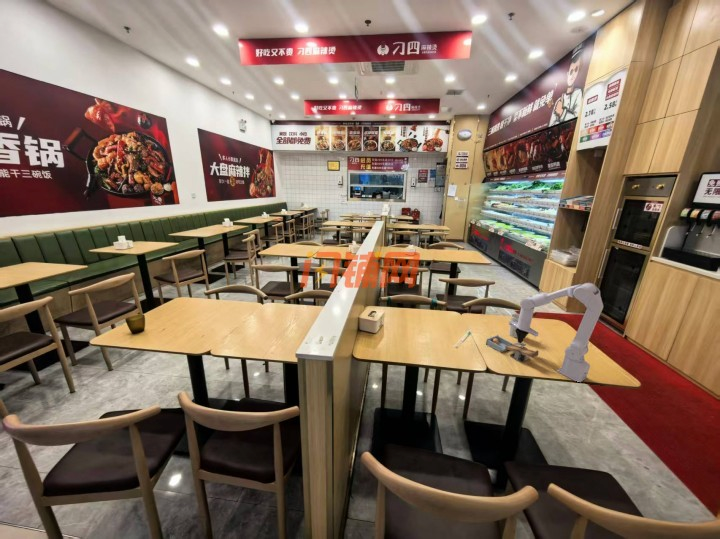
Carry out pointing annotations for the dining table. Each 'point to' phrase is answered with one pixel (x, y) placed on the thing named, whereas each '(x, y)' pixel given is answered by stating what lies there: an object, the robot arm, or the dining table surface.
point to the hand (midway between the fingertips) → (519, 342)
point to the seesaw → (522, 349)
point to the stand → (519, 356)
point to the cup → (512, 329)
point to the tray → (500, 345)
